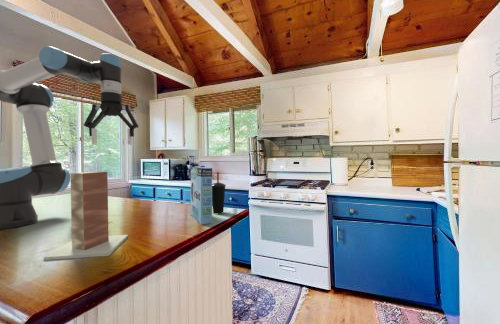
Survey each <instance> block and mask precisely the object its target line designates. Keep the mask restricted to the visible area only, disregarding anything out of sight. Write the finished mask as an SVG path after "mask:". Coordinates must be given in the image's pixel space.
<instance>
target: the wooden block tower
mask: <svg viewBox="0 0 500 324" xmlns="http://www.w3.org/2000/svg"><path fill="white" fill-rule="evenodd" d="M69 173H70V213H71V214H70V215H71V219H70V220H71V221H70V222H71V223H70V224H71V240H72V249H80V250H87V249H90V248H92V247H95V246H97V245H100V244H102V243H104V242H107V241H109V236H110V235H109V197H108V196H109V195H108V193H109V189H108V187H109V186H108V184H109V183H108V171H86V172H85V171H83V172H72V173H71V172H69Z"/></svg>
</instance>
